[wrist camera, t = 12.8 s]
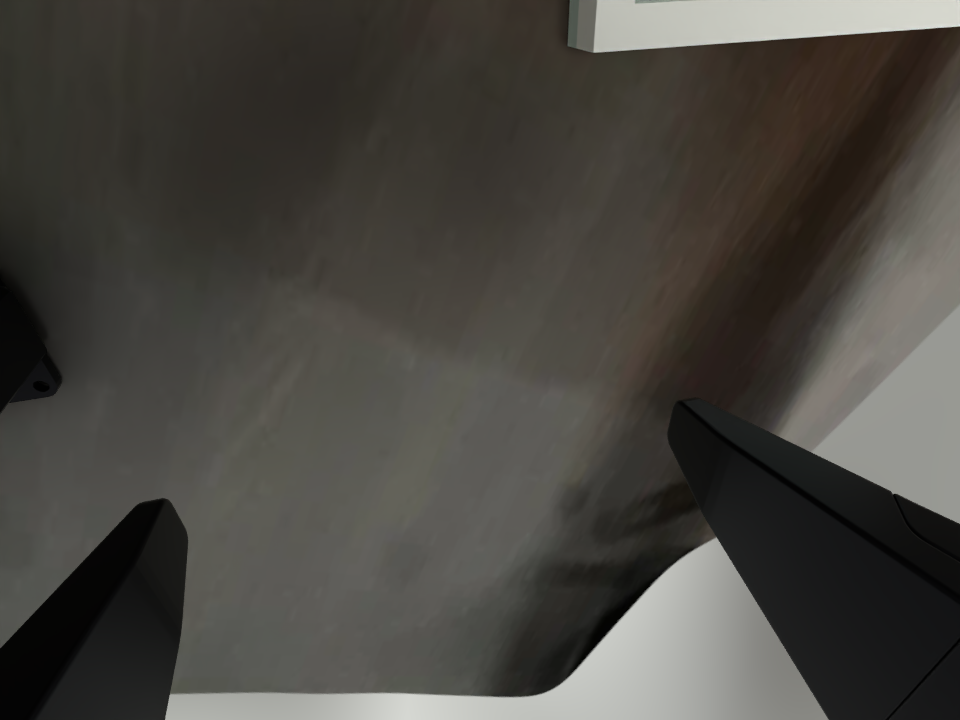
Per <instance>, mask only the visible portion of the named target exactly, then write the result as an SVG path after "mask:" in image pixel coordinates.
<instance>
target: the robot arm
mask: <svg viewBox="0 0 960 720" xmlns="http://www.w3.org/2000/svg"><path fill="white" fill-rule="evenodd" d="M46 351H47V350H46V347H45V346H44V344H43V342H42V341H41V339H40V337H39V336H38V334H37V332H36V331H35V329H34V327H33V326H32V324H31V322H30V321H29V319H28V317H27V316H26V314H25V312H24V311H23V309H22V307H21V306H20V304H19V302H18V301H17V299H16V297H15V296H14V294H13V293H12V292H11V291H10V290H9V289H7V288H6V287H5V285H4V284H3V282H2V281H1V279H0V414H1V413H2V411H3V410H4V409H5V407H6V406H7V405H8V403H12V402H18V401H25V400H31V399H37V398H44V397H49V396H52V395H54V394H55V393H56V392H57V391H58V389H59V388H60V386H61V383H62V381H61V378H60V376H59V375H58V373H57V371H56V370H55V368H54V366H53V365H52V363H51V361H50V360H49V358H48V357H47V355H46ZM38 381H44V382H46V383H47V384H48V385H43V384H41V383H39V382H38ZM667 437H668V442H669V445H670V447H671V449H672V451H673V453H674V455H675V458H676V460H677V462H678V464H679V466H680V468H681V470H682V472H683V474H684V477H685V479H686V481H687V483H688V485H689V487H690V489H691V491H692V493H693V496H694V498H695V500H696V502H697V504H698V506H699V508H700V510H701V512H702V513H703V515H704V517H705V519H706V520H707V522H708V524H709V525H710V527H711V529H712V530H713V532H714V534H715V535H716V537H717V538H718V540H719V542H720V543H721V545H722V546H723V548H724V550H725V551H726V553H727V555H728V556H729V558H730V560H731V561H732V563H733V565H734V566H735V568H736V569H737V571H738V573H739V574H740V576H741V577H742V579H743V581H744V582H745V584H746V586H747V587H748V589H749V591H750V592H751V594H752V595H753V597H754V599H755V600H756V602H757V604H758V605H759V607H760V608H761V610H762V612H763V613H764V615H765V617H766V618H767V620H768V621H769V623H770V625H771V626H772V628H773V630H774V631H775V633H776V634H777V636H778V638H779V639H780V641H781V643H782V644H783V646H784V648H785V649H786V651H787V652H788V654H789V656H790V657H791V659H792V661H793V662H794V664H795V666H796V667H797V669H798V670H799V672H800V674H801V675H802V677H803V679H804V680H805V682H806V684H807V685H808V687H809V688H810V690H811V692H812V693H813V695H814V697H815V698H816V700H817V701H818V703H819V705H820V706H821V708H822V710H823V711H824V713H825V714H826V716H827V718H828V719H829V720H960V524H959V523H957V522H955V521H952V520H950V519H948V518H946V517H944V516H942V515H940V514H938V513H935V512H933V511H931V510H929V509H927V508H925V507H923V506H920V505H918V504H916V503H914V502H912V501H910V500H908V499H906V498H904V497H902V496H900V495H898V494H892V492H891V491H889V490H887V489H885V488H883V487H881V486H879V485H877V484H875V483H873V482H871V481H869V480H867V479H865V478H863V477H861V476H858V475H856V474H854V473H852V472H850V471H848V470H846V469H844V468H842V467H840V466H838V465H836V464H834V463H832V462H829V461H828V460H826V459H823V458H821V457H819V456H817V455H815V454H813V453H811V452H809V451H807V450H805V449H803V448H801V447H799V446H797V445H795V444H793V443H791V442H789V441H786V440H784V439H782V438H780V437H778V436H776V435H774V434H772V433H770V432H768V431H766V430H764V429H762V428H760V427H758V426H756V425H754V424H752V423H749V422H747V421H745V420H743V419H741V418H739V417H737V416H735V415H733V414H731V413H729V412H727V411H725V410H723V409H721V408H719V407H717V406H714V405H712V404H710V403H708V402H706V401H704V400H702V399H700V398H697V397H693V398H687V399H682V400H678V401H676V402H675V404H674V405H673V409H672V413H671V418H670V423H669V427H668V433H667ZM187 551H188V536H187V532H186V529H185V527H184V525H183V523H182V521H181V519H180V518H179V516H178V514H177V512H176V510H175V508H174V507H173V505H172V503H171V502H170V501H169V500H168V499H165V498H161V499H156V500H151V501H145V502H142V503H139V504H138V505H136V506H135V507H134V508H133V509H132V510H131V511H130V512H129V513H128V515H127V516H126V517H125V518H124V519H123V520H122V521H121V522H120V523H119V524H118V525H117V526H116V527H115V528H114V529H113V530H112V531H111V532H110V533H109V535H108V536H107V537H106V538H105V539H104V540H103V541H102V542H101V543H100V544H99V545H98V546H97V547H96V548H95V549H94V550H93V551H92V552H91V554H90V555H89V556H88V557H87V558H86V559H85V560H84V561H83V562H82V563H81V564H80V565H79V566H78V567H77V568H76V569H75V570H74V571H73V572H72V574H71V575H70V576H69V577H68V578H67V579H66V580H65V581H64V582H63V583H62V584H61V585H60V586H59V587H58V588H57V589H56V590H55V591H54V593H53V594H52V595H51V596H50V597H49V598H48V599H47V600H46V601H45V602H44V603H43V604H42V605H41V606H40V607H39V608H38V609H37V610H36V611H35V613H34V614H33V615H32V616H31V617H30V618H29V619H28V620H27V621H26V622H25V623H24V624H23V625H22V626H21V627H20V628H19V629H18V630H17V632H16V633H15V634H14V635H13V636H12V637H11V638H10V639H9V640H8V641H7V642H6V643H5V644H4V645H3V646H2V647H1V648H0V720H165V715H166V711H167V705H168V700H169V695H170V690H171V685H172V680H173V674H174V669H175V664H176V659H177V654H178V649H179V643H180V636H181V629H182V619H183V606H184V592H185V578H186V564H187Z"/></svg>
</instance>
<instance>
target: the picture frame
mask: <svg viewBox="0 0 960 720" xmlns="http://www.w3.org/2000/svg"><path fill="white" fill-rule="evenodd" d="M956 26H960V0H570V5H569V26H568V46H569V47H573V48H577V49H581V50H585V51H588V52H592V53H597V52H611V51H625V50H639V49H653V48H666V47H680V46H694V45H708V44H721V43H735V42H749V41H763V40H777V39H790V38H804V37H818V36H832V35H846V34H859V33H873V32H887V31H901V30H914V29H928V28H942V27H956Z"/></svg>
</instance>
